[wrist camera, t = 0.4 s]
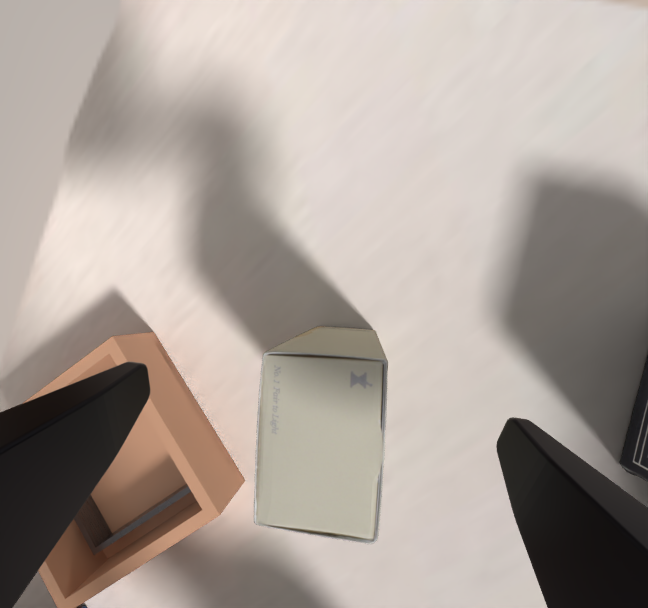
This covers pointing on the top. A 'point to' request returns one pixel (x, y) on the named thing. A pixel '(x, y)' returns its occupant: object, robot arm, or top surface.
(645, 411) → the small box
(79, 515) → the thin grey square frame
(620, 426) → the top surface
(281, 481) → the skincare box
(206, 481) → the wooden cubby frame
